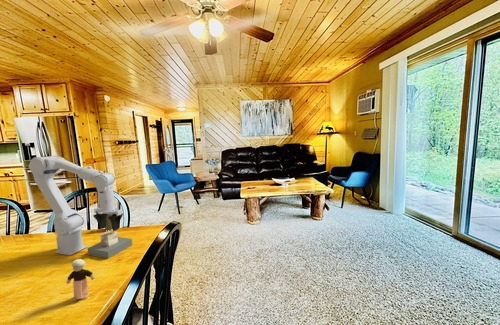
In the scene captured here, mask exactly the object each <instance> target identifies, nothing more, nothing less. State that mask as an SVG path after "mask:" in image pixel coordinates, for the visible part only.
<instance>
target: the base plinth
mask: <svg viewBox="0 0 500 325" xmlns="http://www.w3.org/2000/svg"><path fill="white" fill-rule="evenodd" d="M131 246H133V239H132V238H129V237H128V238H127V237H124V236H123V237H122V236H118V242H117V243H115V244H113V245H111V246H109V247H108V246H102V245H101V241H99V242H98V243H95V244H93V245H91V246H88V247H87V255H89V256H93V257H99V258H104V259H111V258H112V257H114V256H116V255H117V254H119V253H121V252H122V251H124V250H126V249H128V248H130V247H131Z"/></svg>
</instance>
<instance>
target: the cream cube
mask: <svg viewBox="0 0 500 325" xmlns="http://www.w3.org/2000/svg"><path fill="white" fill-rule="evenodd" d="M99 237H100V242H101V245H102V246H108V247H109V246H111V245H113V244H115V243H117V242H118V237H119V236H118V231H117V230H115V231H107V232H106V231H104V233H101V234H100V235H99Z"/></svg>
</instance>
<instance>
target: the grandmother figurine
mask: <svg viewBox="0 0 500 325" xmlns="http://www.w3.org/2000/svg"><path fill="white" fill-rule="evenodd" d="M86 264H87V262H86V261H85V260H83V259H81V258H77V259H75V260H74V261H72V262H71V267H72V272H71V273H69V275H68V277H67V280H66V282H65V283H66V285H69V284H71V281H72V280H73V282H72V285H73V297H72V298H71V299H70V301H71V302H76V301H78V300H81V301H83V300H86V299H88V298H89V295H90V293H89V284H88V280H87V277H88V278H90V279H91V281H93V280H95V278H96V277H95V276H94V273H93V271H90V270H88V269H84V266H85V265H86Z"/></svg>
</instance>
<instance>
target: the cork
mask: <svg viewBox="0 0 500 325" xmlns="http://www.w3.org/2000/svg"><path fill="white" fill-rule="evenodd" d="M112 215H113V214H107V219H106V228H104V231H105V230H107V231H108V230H109V231H111V229H112V224H111V221H110V219H109V218H108V217H109V216H112Z"/></svg>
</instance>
